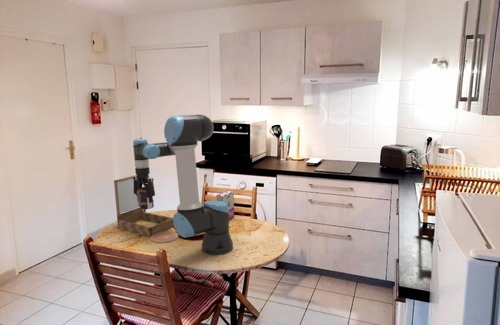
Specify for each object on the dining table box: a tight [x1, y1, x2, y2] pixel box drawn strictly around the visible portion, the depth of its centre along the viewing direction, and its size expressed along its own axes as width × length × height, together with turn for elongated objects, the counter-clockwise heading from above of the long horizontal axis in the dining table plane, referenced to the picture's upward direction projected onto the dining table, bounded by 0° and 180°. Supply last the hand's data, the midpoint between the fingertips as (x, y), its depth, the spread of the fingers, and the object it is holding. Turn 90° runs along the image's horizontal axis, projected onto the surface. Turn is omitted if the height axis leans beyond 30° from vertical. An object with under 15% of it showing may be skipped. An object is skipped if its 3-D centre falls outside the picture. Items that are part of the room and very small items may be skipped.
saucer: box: [150, 230, 179, 244], centre depth 184 cm, size 14×14×1 cm
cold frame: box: [116, 207, 174, 238], centre depth 198 cm, size 26×18×19 cm
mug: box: [137, 186, 154, 210], centre depth 196 cm, size 10×7×12 cm
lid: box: [113, 174, 141, 216], centre depth 203 cm, size 1×18×20 cm, turn 149°
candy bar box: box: [216, 190, 235, 221], centre depth 210 cm, size 11×5×16 cm, turn 147°
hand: (145, 207), depth 197 cm, fingers closed on mug, 7 cm apart
